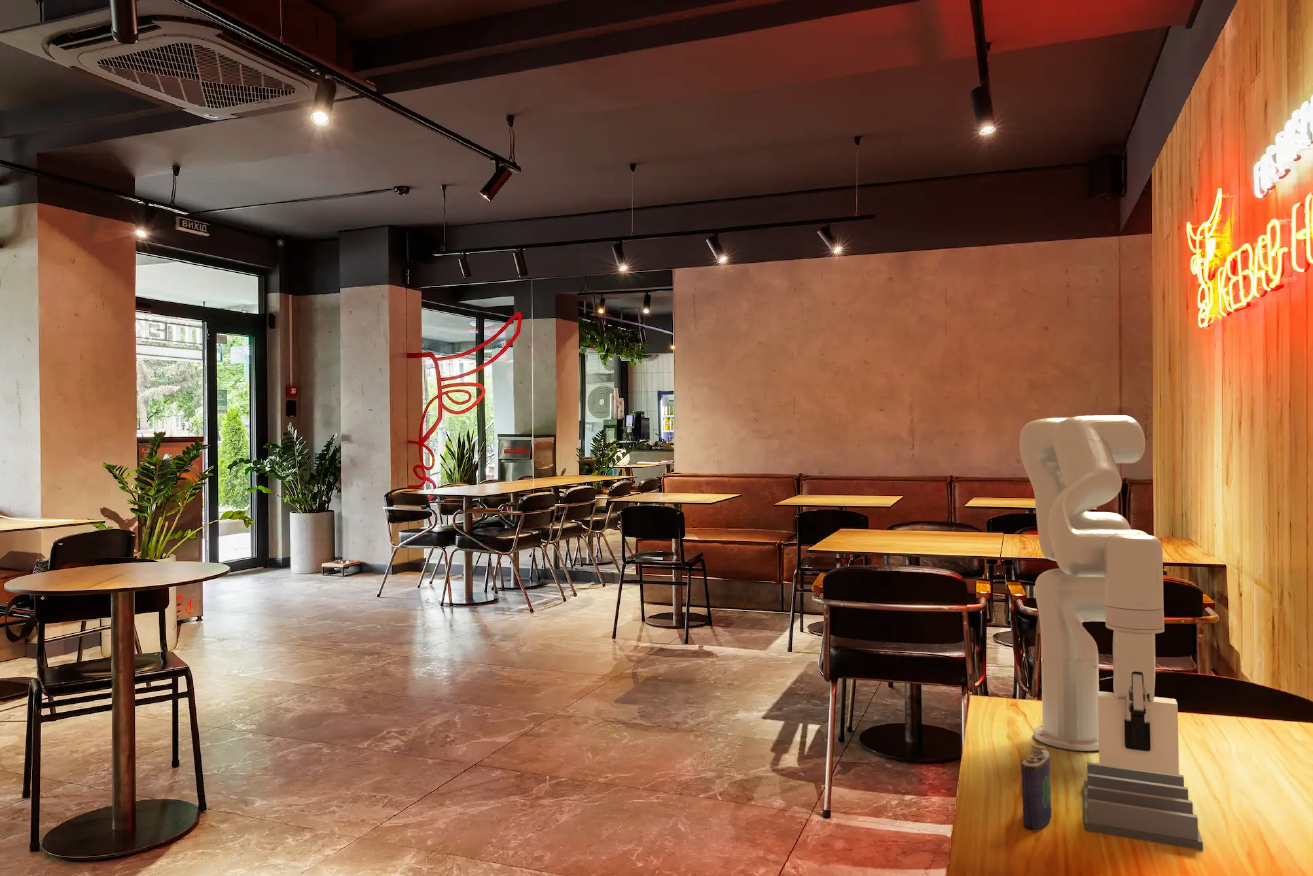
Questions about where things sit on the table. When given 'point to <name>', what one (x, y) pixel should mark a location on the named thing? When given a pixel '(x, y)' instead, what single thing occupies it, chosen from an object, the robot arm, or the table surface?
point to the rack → (1140, 806)
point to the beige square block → (1161, 735)
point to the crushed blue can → (1036, 789)
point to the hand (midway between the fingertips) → (1136, 744)
